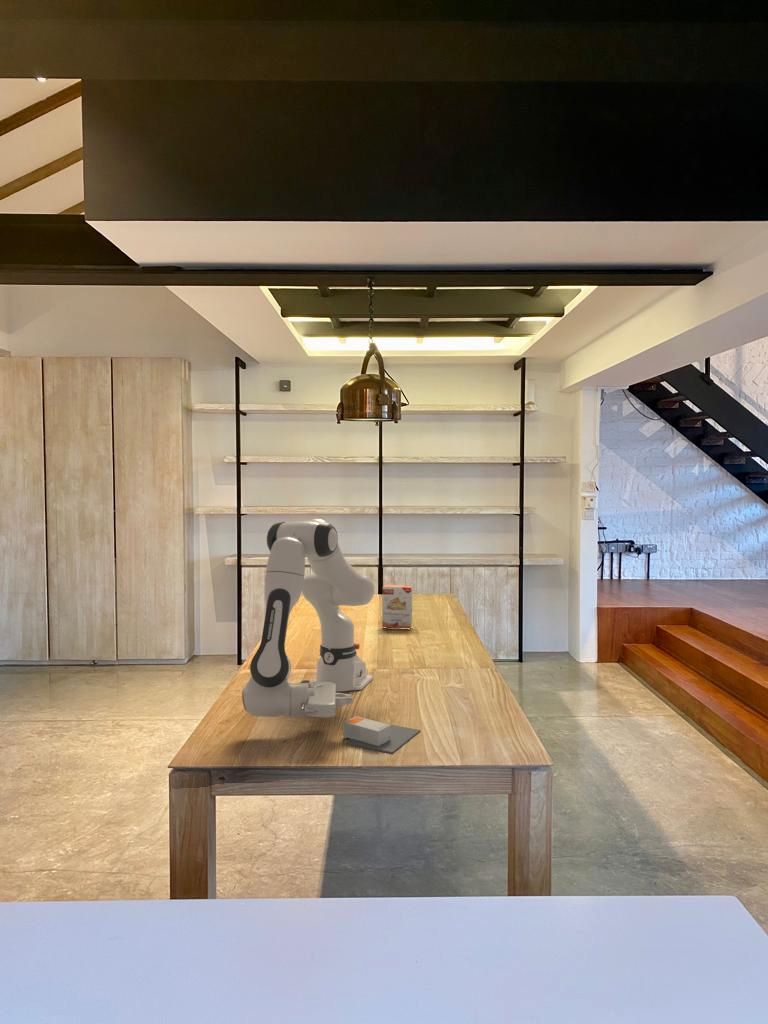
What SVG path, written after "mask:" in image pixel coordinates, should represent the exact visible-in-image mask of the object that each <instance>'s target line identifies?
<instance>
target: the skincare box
mask: <svg viewBox="0 0 768 1024" xmlns="http://www.w3.org/2000/svg"><path fill="white" fill-rule="evenodd" d="M342 724H343V725H342V737H344V738H348V739H354V740H358V741H361V742H365V743H368V744H372V745H375V746H380V745H382V744H384V743H386V742H387V741H389V740H391V725H392V724H389V723H388V724H387V723H384V722H380V721H376V720H374V719H373V720H372V719H368V718H366V717H363V716H357V715H356V716H353V717H351V718H349V719H346V720H345V721H343V722H342Z"/></svg>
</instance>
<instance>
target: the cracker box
mask: <svg viewBox="0 0 768 1024" xmlns="http://www.w3.org/2000/svg"><path fill="white" fill-rule="evenodd" d="M381 617H382V619H381V620H382V621H381V622H382V624H381V625H382V627H386V628H411V627H413V585H393V584H392V585H391V584H384V585H383V586H382V615H381ZM382 627H381V628H382ZM411 629H412V628H411Z"/></svg>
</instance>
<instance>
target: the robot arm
mask: <svg viewBox="0 0 768 1024" xmlns="http://www.w3.org/2000/svg"><path fill="white" fill-rule="evenodd" d="M338 537H339V536H338V531H337V529H336V528H335V526H334V525H332V524H331V523H329V522H327V521H325V520H324V519H322V518H312V519H310V520H301V521H289V522H288V521H287V522H285V521H282V522H281V521H280V522H277V523H274V524H272V525H271V526H270V528H269V529H268V531H267V535H266V545H267V548H268V550H269V555H268V559H267V564H266V569H265V574H264V575H265V577H264V600H265V614H264V621H263V622H264V623H263V628H262V636H261V639H260V644H259V647H258V648H257V651H256V652H255V654H254V655H253V656H252V657H253V658H252V660H251V661H250V664H249V665H250V667H249V670H250V671H249V672H250V675H251V676H250V678H249V679H248V682H247V683H246V685H245V686H244V687H243V688H242V691H241V693H242V696H241V697H242V704H243V709H244V711H245V712H246V713H247V714H248V715H249V716H252V717H262V718H276V717H278V716H279V717H280V716H286V717H290V718H291V717H292V718H293V717H294V718H296V717H298V718H299V717H312V718H325V719H326V718H334V717H336V707H341V706H345V705H352V704H353V694H351V693H347V694H346V693H342V692H348V691H361V690H363V689H365V687H366V686H367V685H368V684H369V683H370V682H371V681H372V680H373V679H374V678H373V675H371V674H369V673H367V664H366V662H365V661H364V660H363V659H362V658H361V657H359V655H357V650H359V649H360V643H355V639H354V638H355V633H354V632H355V631H354V628H355V625H354V622H353V620H352V619H351V618H350V617H349V616H347V615H345V614H344V612H342V610H341V608H340V606H343V607H344V606H345V607H346V606H347V607H348V606H349V607H358V606H365V605H369V603H370V602H371V601H372V600H373V597H374V594H375V585H374V583H373V580H372V579H371V578H370V577H369V576H368V575H365V574H363V573H362V572H360V571H358V570H357V569H356V568H354V566H352V565H351V564H350V563H349V562H348V561H347V559H346V558H345V556H344V555H343V552H342V550H341V547H340V545H339V542H338V541H339V540H338V539H339V538H338ZM306 558H307V561H308V564H309V565H310V568H311V570H312V572H313V573H309V574H307V575H306V576H305V571H306V570H305V569H306ZM301 594H302V595H303V598H304V599H305V600H306V601H307V602H309V603H310V604H311V606H312V607H313V608H314V610H315V612H316V613H317V616H318V619H319V623H320V634H321V635H320V636H321V639H320V640H321V643H320V645H319V646H320V647H319V656H320V658H318V660H317V666H316V676H315V678H314V679H313V681H311V680H309V679H304V680H302V681H300V682H297V683H290V682H289V677H290V674H291V672H292V671H291V670H292V663H291V660H290V658H289V657H288V655H287V654H286V649H285V648H286V647H285V644H286V637H287V630H288V622H289V619H290V614H291V612H292V610H293V608H294V607H295V606H296V604H297V603H298V602H299V600H300V597H301Z"/></svg>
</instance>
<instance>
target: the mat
mask: <svg viewBox="0 0 768 1024" xmlns="http://www.w3.org/2000/svg"><path fill="white" fill-rule="evenodd" d="M390 725H391V740H389V741H387V742H386V743H384V744H382V745H380V746H375V745H372V744H368V743H365V742H361V741H358V740H354V739H351V738H349V739H348V740H347V741H345V742H344V745H346V746H351V747H357V748H362V749H368V750H373V751H378V752H382V753H387V754H394V753H395V752H397V751H398V750H400V748H402V747H403V746H404V745H405V744H406V743H408V742H409V741H410V740H412V739H413V738H415V736H417V735H418V734H419V733H420V732H421V729H417V728H411V727H405V726H401V725H393V724H390Z"/></svg>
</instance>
